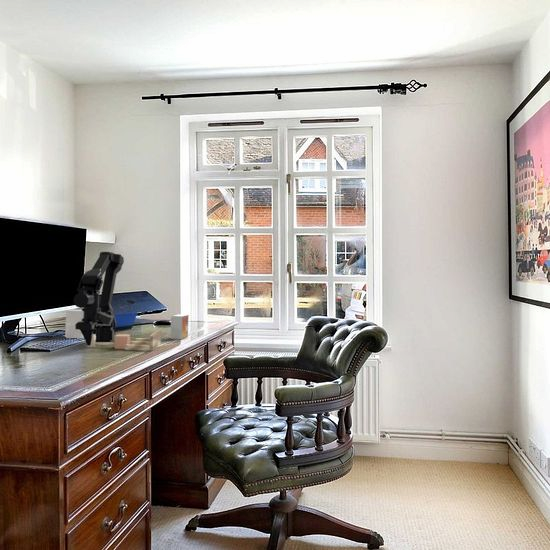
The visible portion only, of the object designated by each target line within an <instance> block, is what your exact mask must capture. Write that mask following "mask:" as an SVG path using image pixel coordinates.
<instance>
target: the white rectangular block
mask: <svg viewBox="0 0 550 550" xmlns="http://www.w3.org/2000/svg"><path fill="white" fill-rule="evenodd" d="M83 312H84V311H82V309H66V310H65V332H64V334H65V335H64V336H65V337H66V338H65V339H71V338H78V339H84V337H83V335H82V333H81V331H80V330H79V329H75V325H76V323H77V322H79V321H82V319H83Z"/></svg>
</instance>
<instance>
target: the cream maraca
mask: <svg viewBox="0 0 550 550" xmlns="http://www.w3.org/2000/svg"><path fill="white" fill-rule="evenodd" d="M95 335H96V334H92V340H91V345H87V344H86V348H88V349H91V348H92V349H93V348H96V345H98V346H99V345H100V346H101V345H102V346H103V345H104V346H105V345H106V346H110V345H111V346H114V347H113V348H114V349H116V350H117V349H119V350H124V349H125V346H126V344H127V345H130V344H131V334H126V333H125V334H124V333H123V334H119V333H117V334H115V335H114V342H95V340H96V336H95Z"/></svg>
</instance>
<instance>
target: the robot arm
mask: <svg viewBox="0 0 550 550" xmlns="http://www.w3.org/2000/svg"><path fill="white" fill-rule="evenodd" d="M124 261H125V258H124V256H123V255H121V254H120V253H118V254H117V253H114V252H112V251H100V253H99V256H98V258H97V260H96V261H95V263H94V265H93V266H92V268H91V269H90V270H87V271H85V273H84V274H83V275H82V277H81V278H80V281H79V283H78V287H77V292H78V293H77V294H75V295H74V298H73V304H74V305H75V306H76V307H77V308H78V309H81V310H82V311H84V312H83V319H82V321H79V322H77V323H76V325H75V329H79V330H80V331H81V333H82V335H83V337H84V338H83V339H84V340H85V343H86V346H87V345H91V340H92V334H96V335H95V342H108V343H112V341H115V331H114V330H113V327H116V319H115V316H114V314H115V311H114V309H113V307H112V302H113V295H114V291H115V285H116V280H117V274H118V273H119V272H120V271H122V267H123V265H124ZM103 275H104V278H103ZM100 291H101V292H100ZM110 324H111V325H110Z"/></svg>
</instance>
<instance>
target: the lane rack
mask: <svg viewBox="0 0 550 550" xmlns="http://www.w3.org/2000/svg"><path fill="white" fill-rule="evenodd" d="M134 339H135V340H130V345H127V344H126V346H125V351H142V352H143V351H151V352H153V351H154V350H155V349H157V348H158V347H159V346H160V345H161V344H162V329H157V330H155V331H154V332H152V334H150V335H149V338H146V337H145V338H144V337H143V338H142V337H141V338H140V337H139V338H137V337H136V338H134Z"/></svg>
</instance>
